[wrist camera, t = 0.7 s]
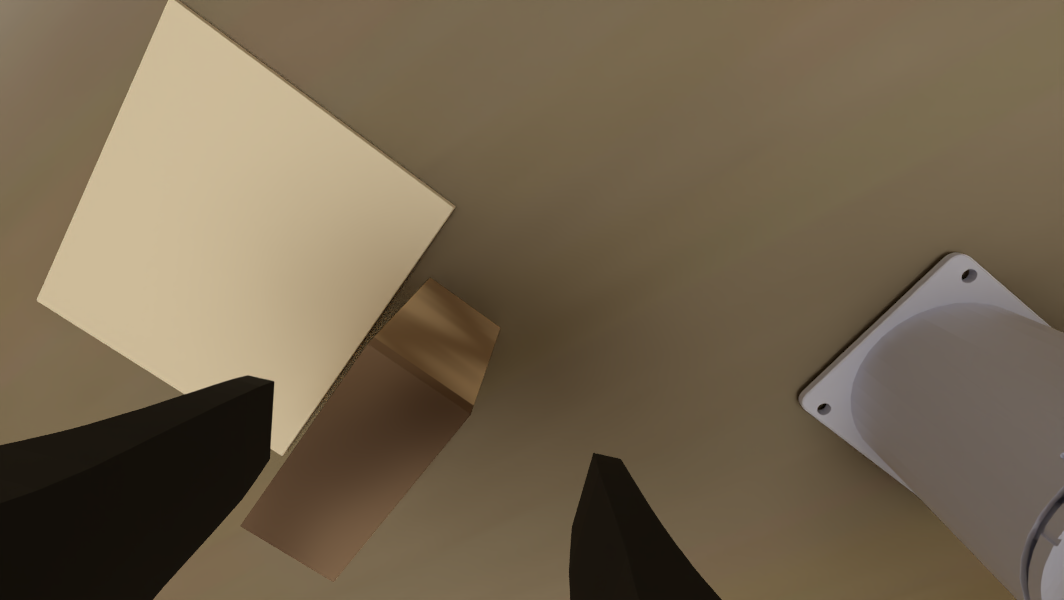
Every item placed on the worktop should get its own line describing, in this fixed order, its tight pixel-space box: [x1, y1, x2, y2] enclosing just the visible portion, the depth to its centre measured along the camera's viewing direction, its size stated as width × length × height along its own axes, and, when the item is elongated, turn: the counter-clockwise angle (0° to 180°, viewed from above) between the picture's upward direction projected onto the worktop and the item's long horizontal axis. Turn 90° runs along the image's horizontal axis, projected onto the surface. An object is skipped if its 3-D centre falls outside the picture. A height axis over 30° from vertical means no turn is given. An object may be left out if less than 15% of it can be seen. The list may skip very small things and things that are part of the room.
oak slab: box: [241, 278, 500, 582], centre depth 19 cm, size 4×8×7 cm, turn 143°
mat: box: [37, 0, 456, 456], centre depth 21 cm, size 12×14×1 cm
